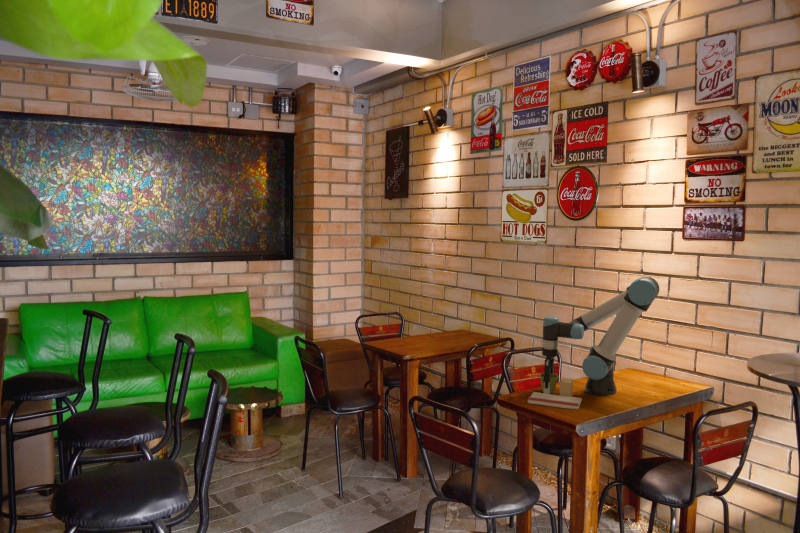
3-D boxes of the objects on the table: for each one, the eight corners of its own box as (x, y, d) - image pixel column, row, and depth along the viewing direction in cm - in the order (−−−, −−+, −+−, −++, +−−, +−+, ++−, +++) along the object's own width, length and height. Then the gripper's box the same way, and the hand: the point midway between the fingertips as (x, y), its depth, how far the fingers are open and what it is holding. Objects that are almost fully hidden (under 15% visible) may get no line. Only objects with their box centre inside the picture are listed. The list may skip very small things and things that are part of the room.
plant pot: (554, 396, 292) (555, 378, 291) (536, 393, 297) (536, 376, 296) (560, 391, 300) (561, 374, 299) (542, 388, 305) (542, 372, 304)
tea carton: (572, 394, 295) (572, 379, 294) (570, 399, 288) (570, 383, 287) (561, 393, 297) (562, 377, 296) (559, 397, 290) (559, 381, 289)
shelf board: (581, 401, 285) (581, 395, 284) (578, 409, 272) (578, 403, 271) (533, 394, 294) (533, 389, 293) (527, 402, 281) (528, 397, 281)
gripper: (546, 343, 308) (544, 385, 310) (538, 351, 288) (536, 396, 290) (560, 344, 305) (559, 387, 307) (554, 353, 285) (552, 398, 287)
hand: (548, 391), depth 299 cm, fingers open, 9 cm apart
